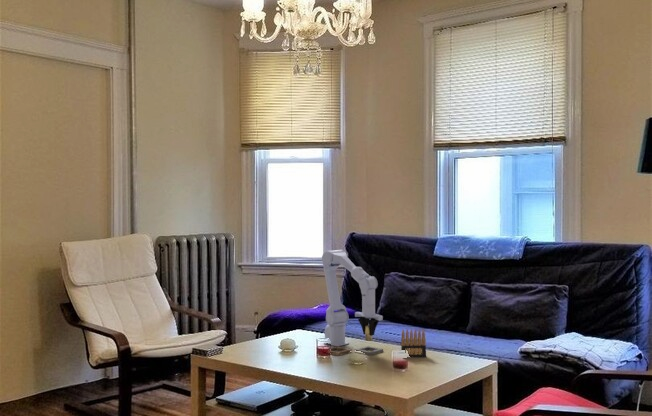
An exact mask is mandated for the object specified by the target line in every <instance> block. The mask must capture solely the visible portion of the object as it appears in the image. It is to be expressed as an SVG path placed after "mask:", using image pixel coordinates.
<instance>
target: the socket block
mask: <svg viewBox="0 0 652 416" xmlns="http://www.w3.org/2000/svg"><path fill="white" fill-rule="evenodd" d="M355 350H356V351H361V352H363V353H365V354H364V355H367V356H374V355H377V354H380V353H383V352H384V348H379V347H375V346H374V347H373V346H370V345H367V346H363V347H362V346H361V347H360V348H355V349H354V351H355Z"/></svg>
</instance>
